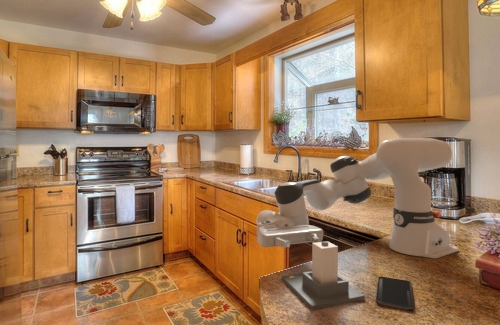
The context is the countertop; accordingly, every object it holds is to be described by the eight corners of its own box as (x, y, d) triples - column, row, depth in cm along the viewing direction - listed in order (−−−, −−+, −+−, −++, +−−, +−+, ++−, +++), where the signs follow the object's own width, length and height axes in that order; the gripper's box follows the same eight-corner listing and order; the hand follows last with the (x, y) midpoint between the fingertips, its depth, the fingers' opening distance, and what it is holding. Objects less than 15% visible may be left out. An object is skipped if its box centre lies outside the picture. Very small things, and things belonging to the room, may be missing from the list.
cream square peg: (327, 283, 76) (327, 238, 75) (337, 291, 72) (337, 244, 71) (312, 286, 74) (312, 240, 74) (321, 294, 70) (322, 246, 70)
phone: (375, 301, 67) (378, 275, 81) (375, 306, 67) (378, 279, 81) (415, 309, 64) (411, 281, 77) (415, 314, 64) (411, 285, 77)
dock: (326, 272, 85) (326, 258, 85) (364, 299, 70) (364, 283, 69) (281, 279, 80) (281, 265, 80) (312, 310, 65) (312, 292, 65)
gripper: (310, 236, 100) (334, 250, 86) (252, 243, 93) (269, 258, 80) (310, 218, 99) (334, 228, 86) (252, 223, 93) (269, 235, 80)
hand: (302, 243), depth 83 cm, fingers open, 8 cm apart
